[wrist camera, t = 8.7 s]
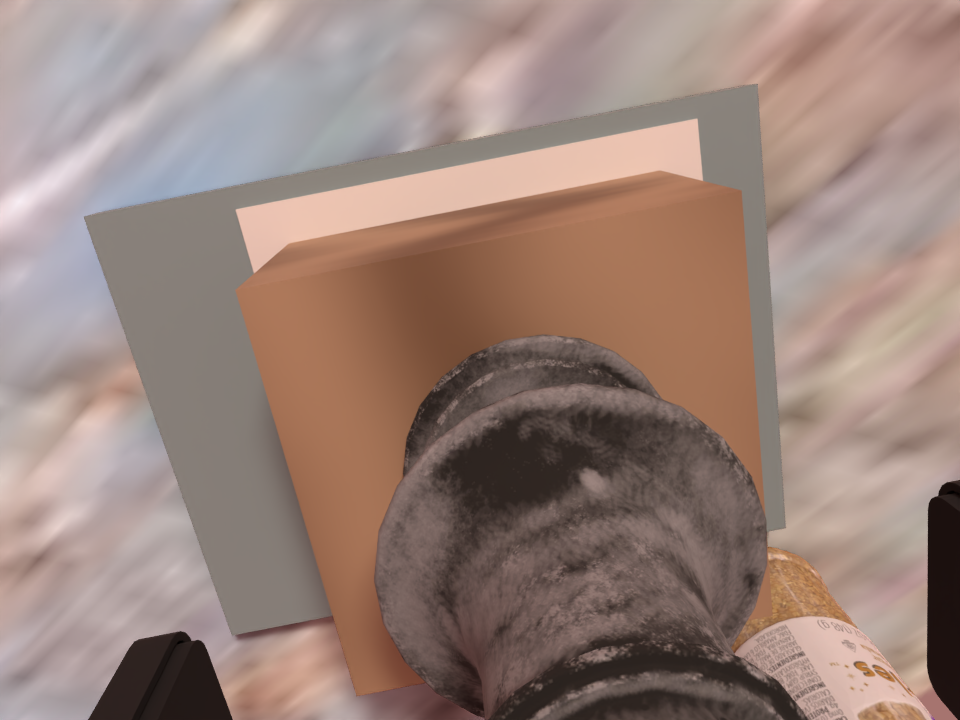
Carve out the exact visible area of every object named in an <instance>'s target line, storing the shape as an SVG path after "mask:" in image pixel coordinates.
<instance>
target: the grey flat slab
mask: <svg viewBox="0 0 960 720" xmlns="http://www.w3.org/2000/svg"><path fill="white" fill-rule="evenodd" d="M659 170H661V171H665V172H669V173H673V174H677V175H681V176H685V177H689V178H693V179H697V180H701V181H705V182H709V183H713V184H717V185H722V186H726V187H730V188H734V189H738V190H742V203H743V216H744V230H745V244H746V257H747V271H748V285H749V298H750V312H751V326H752V339H753V353H754V367H755V380H756V394H757V408H758V421H759V435H760V449H761V463H762V476H763V490H764V504H765V517H766V522H767V532H768V531H773V530H778V529H783V528H786V524H785V508H784V493H783V477H782V461H781V445H780V430H779V414H778V398H777V382H776V367H775V351H774V335H773V319H772V304H771V288H770V272H769V256H768V241H767V225H766V209H765V194H764V178H763V162H762V146H761V131H760V115H759V99H758V84H752V85H743V86H738V87H733V88H728V89H723V90H718V91H712V92H707V93H702V94H697V95H692V96H687V97H682V98H677V99H672V100H667V101H662V102H657V103H652V104H647V105H641V106H636V107H631V108H626V109H621V110H616V111H611V112H606V113H601V114H596V115H591V116H586V117H581V118H576V119H570V120H565V121H560V122H555V123H550V124H545V125H540V126H535V127H530V128H525V129H520V130H515V131H510V132H505V133H500V134H494V135H489V136H484V137H479V138H474V139H469V140H464V141H459V142H454V143H449V144H444V145H439V146H434V147H429V148H423V149H418V150H413V151H408V152H403V153H398V154H393V155H388V156H383V157H378V158H373V159H368V160H363V161H358V162H352V163H347V164H342V165H337V166H332V167H327V168H322V169H317V170H312V171H307V172H302V173H297V174H292V175H287V176H282V177H276V178H271V179H266V180H261V181H256V182H251V183H246V184H241V185H236V186H231V187H226V188H221V189H216V190H211V191H205V192H200V193H195V194H190V195H185V196H180V197H175V198H170V199H165V200H160V201H155V202H150V203H145V204H140V205H134V206H129V207H124V208H119V209H114V210H109V211H104V212H99V213H95V214H92V215H88V216H85V217H84V219H85V222H86V225H87V228H88V231H89V233H90V236H91V239H92V242H93V245H94V248H95V250H96V253H97V256H98V259H99V262H100V264H101V267H102V270H103V273H104V276H105V279H106V281H107V284H108V287H109V290H110V293H111V295H112V298H113V301H114V304H115V307H116V310H117V312H118V315H119V318H120V321H121V324H122V327H123V329H124V332H125V335H126V338H127V341H128V343H129V346H130V349H131V352H132V355H133V358H134V360H135V363H136V366H137V369H138V372H139V375H140V377H141V380H142V383H143V386H144V389H145V391H146V394H147V397H148V400H149V403H150V406H151V408H152V411H153V414H154V417H155V420H156V422H157V425H158V428H159V431H160V434H161V437H162V439H163V442H164V445H165V448H166V451H167V454H168V456H169V459H170V462H171V465H172V468H173V470H174V473H175V476H176V479H177V482H178V485H179V487H180V490H181V493H182V496H183V499H184V502H185V504H186V507H187V510H188V513H189V516H190V518H191V521H192V524H193V527H194V530H195V533H196V535H197V538H198V541H199V544H200V547H201V549H202V552H203V555H204V558H205V561H206V564H207V566H208V569H209V572H210V575H211V578H212V581H213V583H214V586H215V589H216V592H217V595H218V597H219V600H220V603H221V606H222V609H223V612H224V614H225V617H226V620H227V623H228V626H229V629H230V631H231V634H232V635H237V634H242V633H247V632H253V631H258V630H263V629H268V628H273V627H278V626H284V625H289V624H294V623H299V622H304V621H309V620H314V619H320V618H325V617H330V616H333V615H332V612H331V608H330V605H329V602H328V598H327V595H326V592H325V588H324V585H323V582H322V578H321V575H320V572H319V568H318V565H317V562H316V558H315V555H314V552H313V548H312V545H311V542H310V538H309V535H308V532H307V528H306V525H305V521H304V518H303V515H302V511H301V508H300V505H299V501H298V498H297V495H296V491H295V488H294V485H293V481H292V478H291V475H290V471H289V468H288V465H287V461H286V458H285V455H284V451H283V448H282V445H281V441H280V438H279V435H278V431H277V428H276V424H275V421H274V418H273V414H272V411H271V408H270V404H269V401H268V398H267V394H266V391H265V388H264V384H263V381H262V378H261V374H260V371H259V368H258V364H257V361H256V358H255V354H254V351H253V348H252V344H251V341H250V338H249V334H248V331H247V327H246V324H245V321H244V317H243V314H242V311H241V307H240V304H239V301H238V297H237V294H236V291H235V290H236V289H237V288H238V287H239V286H240V285H242V284H243V283H244V282H245V281H246V280H247V279H248V278H250V277H251V276H252V275H253V274H254V273H255V272H256V271H258V270H259V269H260V268H261V267H262V266H263V265H264V264H266V263H267V262H268V261H269V260H270V259H271V258H273V257H274V256H275V255H276V254H277V253H278V252H279V251H281V250H282V249H283V248H284V247H285V246H286V245H287V244H289V243H293V242H298V241H303V240H308V239H314V238H319V237H324V236H329V235H334V234H339V233H344V232H349V231H354V230H359V229H364V228H369V227H375V226H380V225H385V224H390V223H395V222H400V221H405V220H410V219H415V218H420V217H425V216H430V215H435V214H441V213H446V212H451V211H456V210H461V209H466V208H471V207H476V206H481V205H486V204H491V203H496V202H502V201H507V200H512V199H517V198H522V197H527V196H532V195H537V194H542V193H547V192H552V191H557V190H563V189H568V188H573V187H578V186H583V185H588V184H593V183H598V182H603V181H608V180H613V179H618V178H624V177H629V176H634V175H639V174H644V173H649V172H654V171H659Z"/></svg>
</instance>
